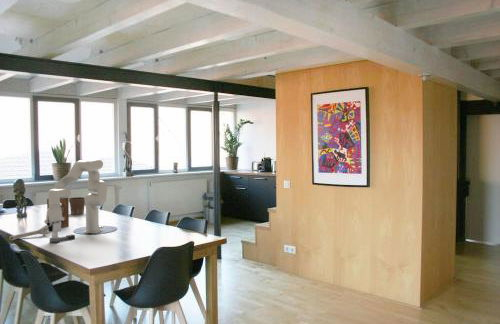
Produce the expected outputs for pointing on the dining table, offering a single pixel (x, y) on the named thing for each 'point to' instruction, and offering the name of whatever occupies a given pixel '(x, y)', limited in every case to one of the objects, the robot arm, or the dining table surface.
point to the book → (63, 211)
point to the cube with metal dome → (56, 227)
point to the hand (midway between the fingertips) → (54, 230)
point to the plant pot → (77, 205)
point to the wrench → (32, 233)
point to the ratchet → (60, 238)
